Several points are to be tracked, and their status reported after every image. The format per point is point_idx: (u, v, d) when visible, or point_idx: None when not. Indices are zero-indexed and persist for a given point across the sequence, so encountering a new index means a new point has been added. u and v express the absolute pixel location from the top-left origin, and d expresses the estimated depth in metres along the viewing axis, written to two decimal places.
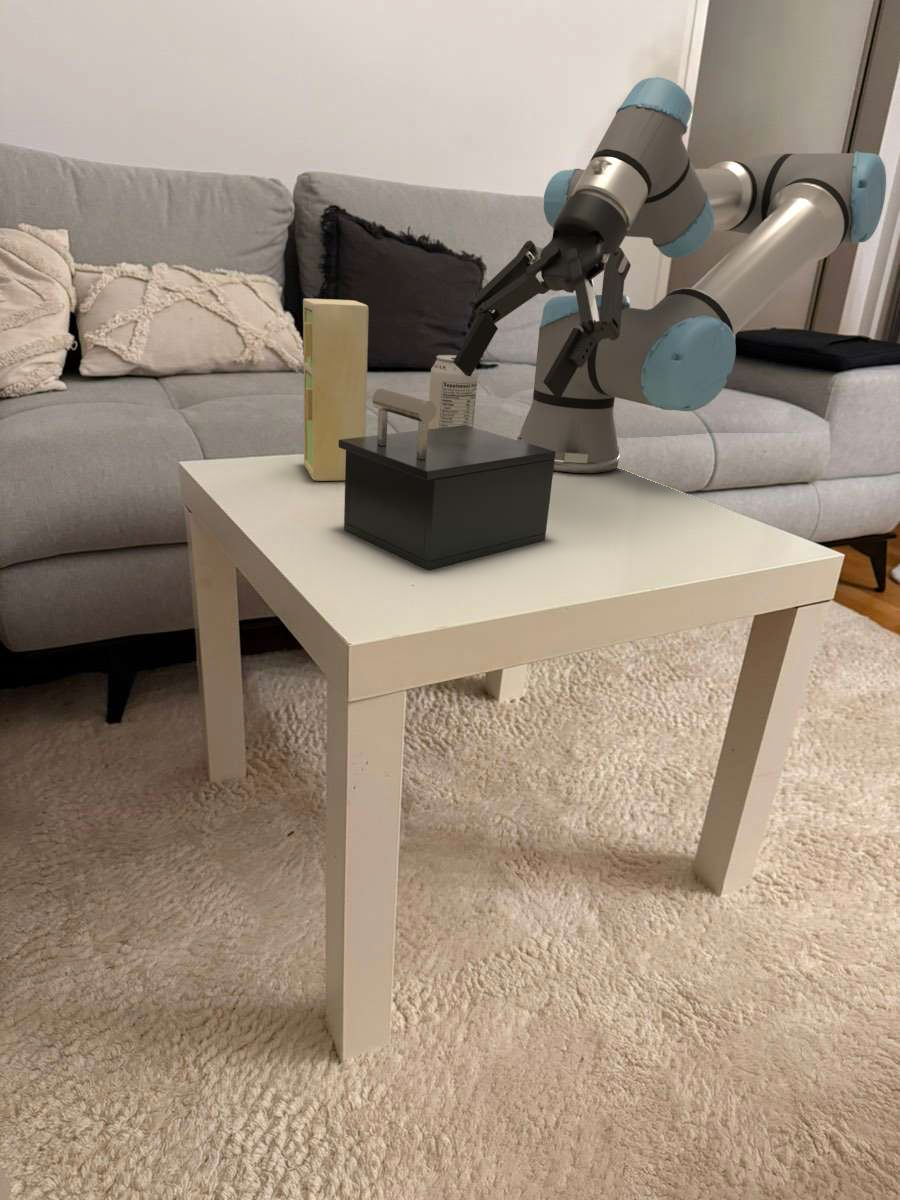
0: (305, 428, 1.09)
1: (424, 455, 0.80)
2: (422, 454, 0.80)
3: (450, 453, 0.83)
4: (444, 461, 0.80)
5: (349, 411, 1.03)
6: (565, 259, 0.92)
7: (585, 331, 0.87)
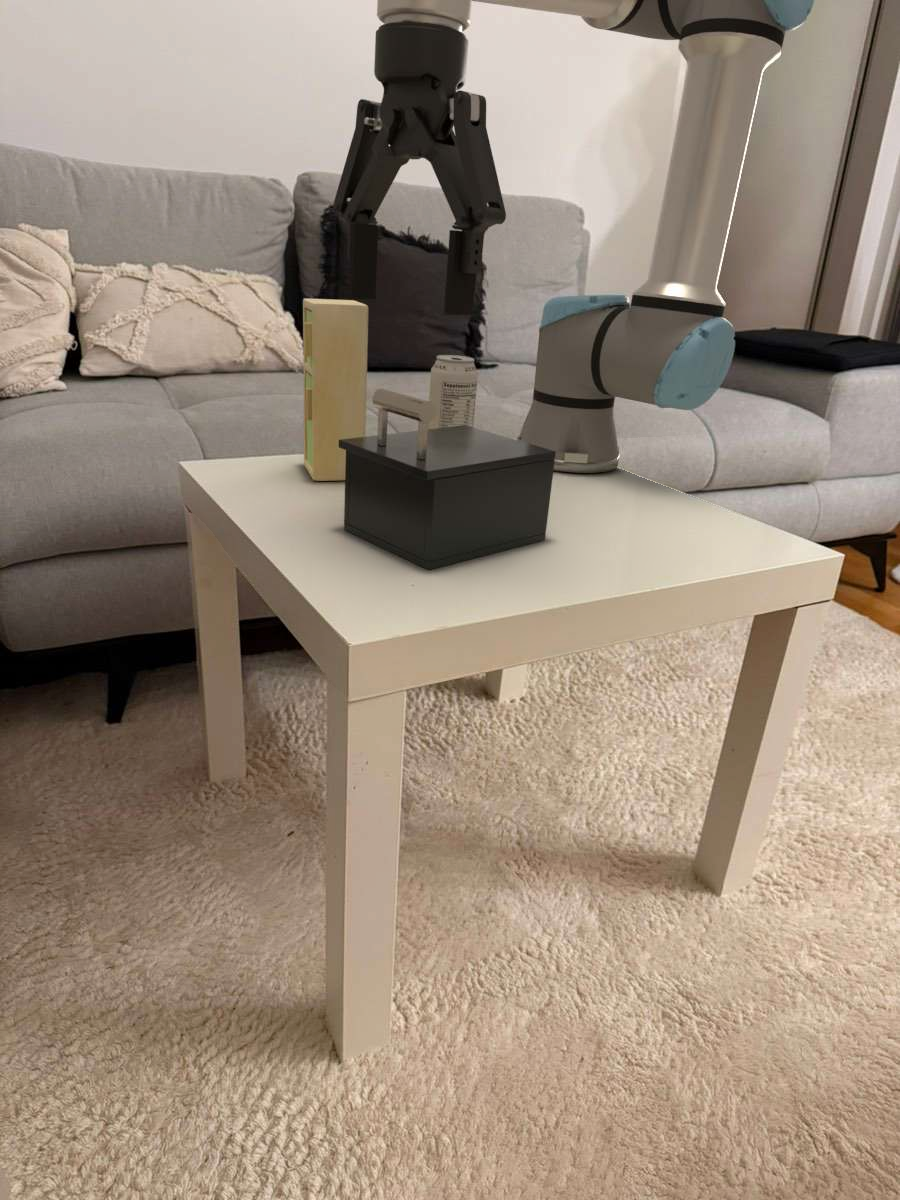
0: (305, 428, 1.09)
1: (424, 455, 0.80)
2: (422, 454, 0.80)
3: (450, 453, 0.83)
4: (444, 461, 0.80)
5: (349, 411, 1.03)
6: None
7: (464, 229, 0.69)
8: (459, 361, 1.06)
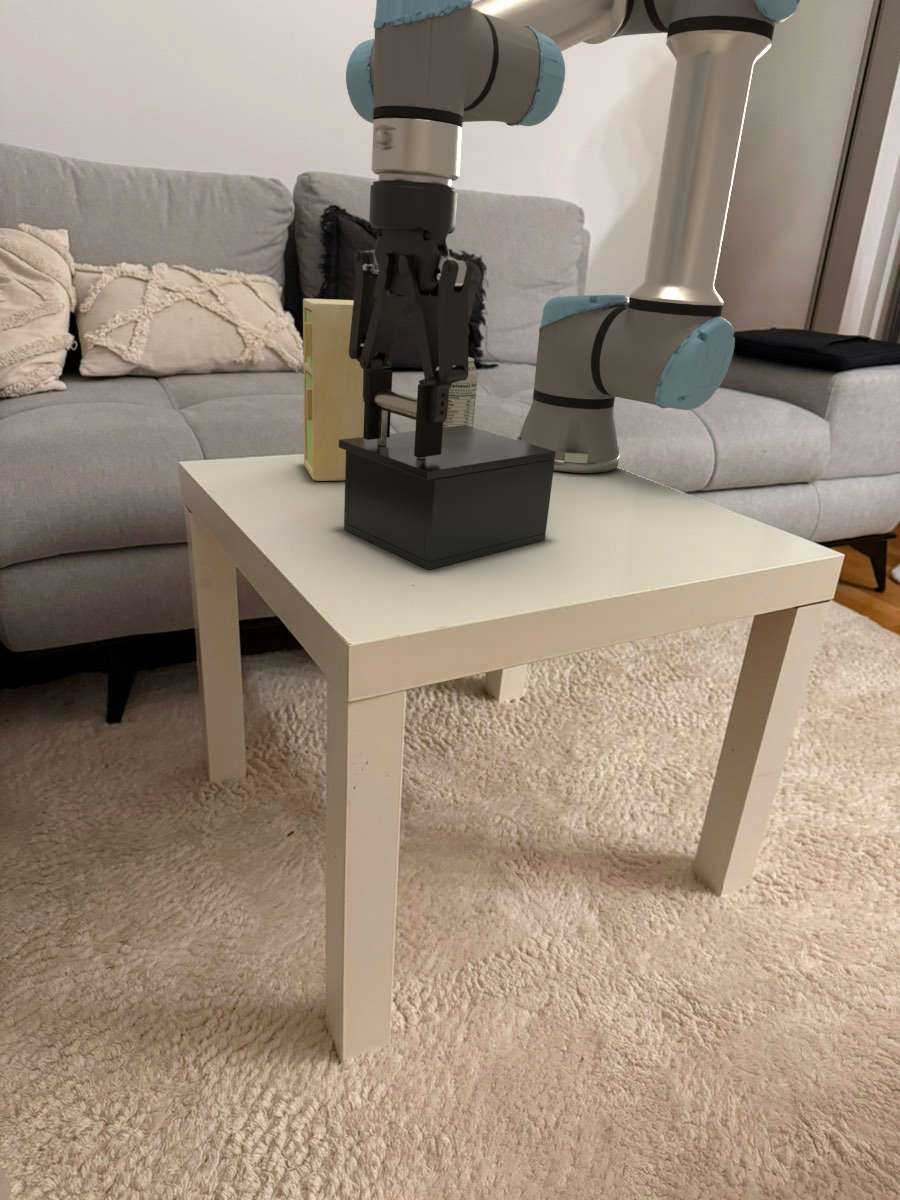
0: (305, 428, 1.09)
1: None
2: None
3: (450, 453, 0.83)
4: (444, 461, 0.80)
5: (349, 411, 1.03)
6: None
7: None
8: None
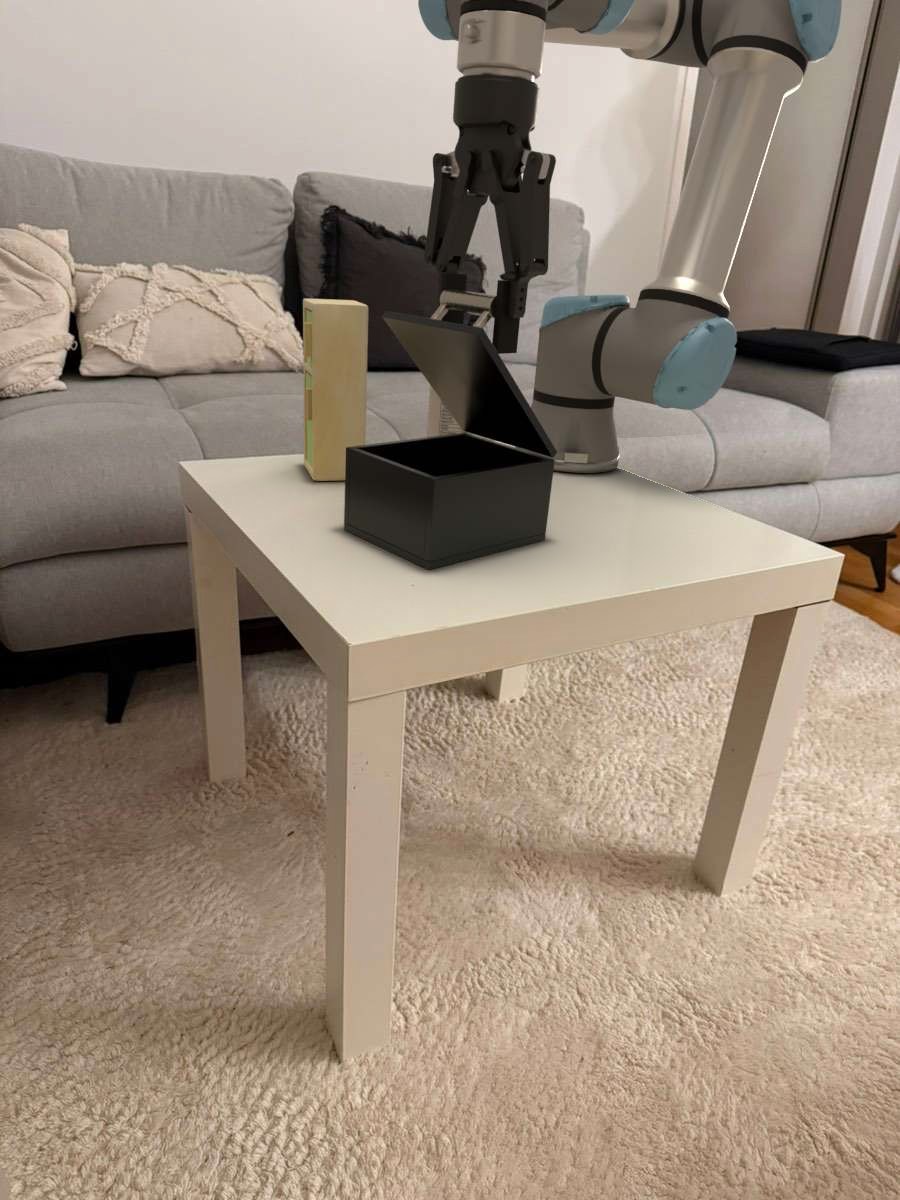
0: (305, 428, 1.09)
1: None
2: None
3: None
4: None
5: (349, 411, 1.03)
6: None
7: None
8: None
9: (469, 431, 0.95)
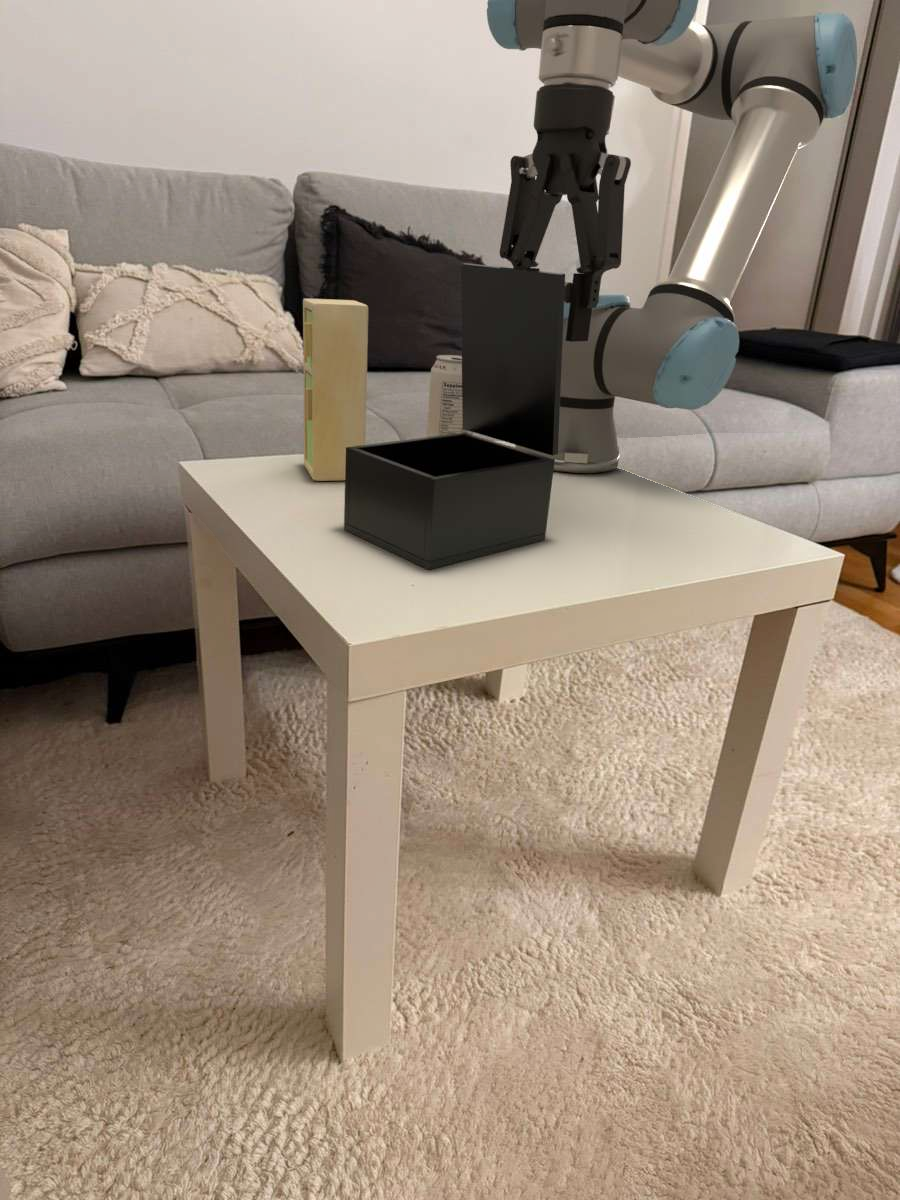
0: (305, 428, 1.09)
1: None
2: None
3: None
4: None
5: (349, 411, 1.03)
6: (561, 165, 0.83)
7: (584, 272, 0.84)
8: (459, 361, 1.06)
9: (470, 428, 0.95)
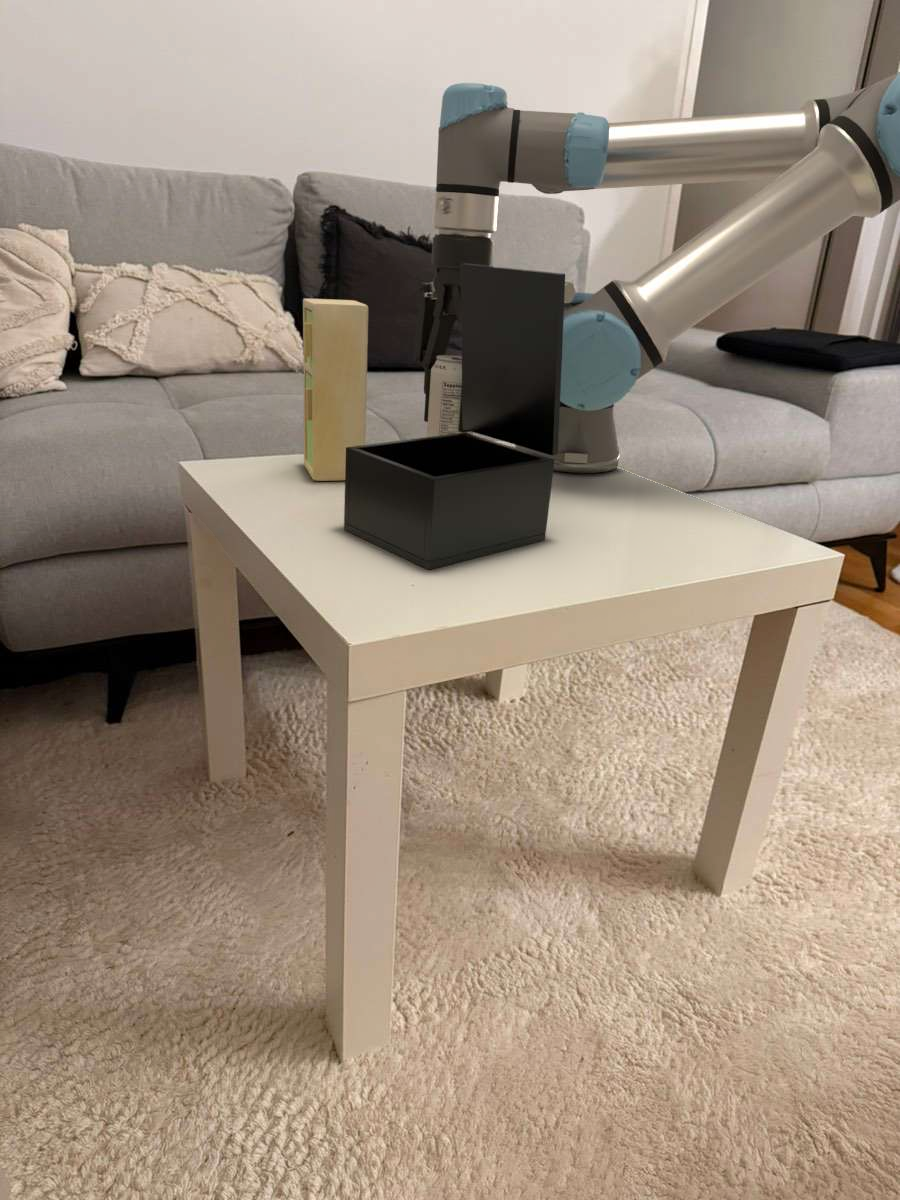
0: (305, 428, 1.09)
1: None
2: None
3: None
4: None
5: (349, 411, 1.03)
6: None
7: None
8: (459, 361, 1.06)
9: (470, 428, 0.95)
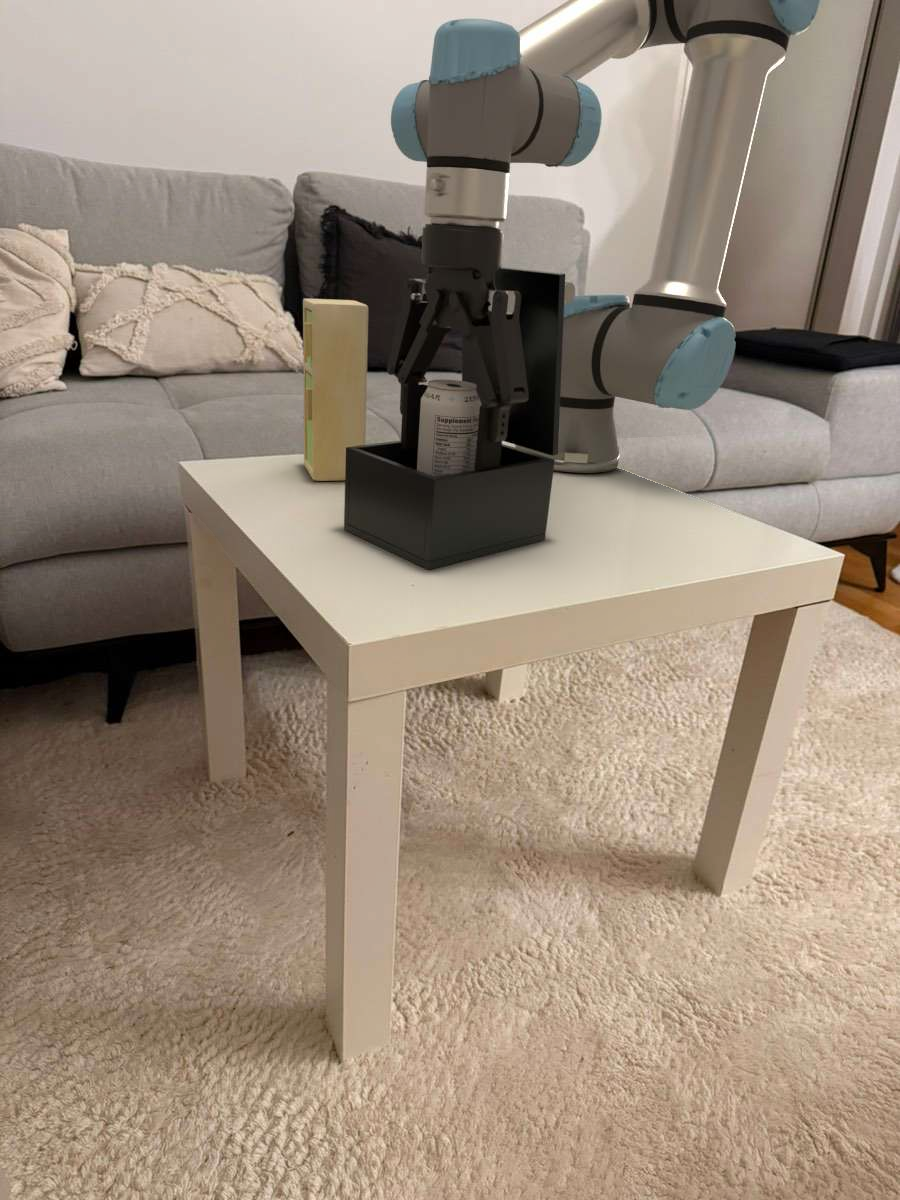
0: (305, 428, 1.09)
1: None
2: None
3: None
4: None
5: (349, 411, 1.03)
6: None
7: None
8: (457, 389, 0.81)
9: None
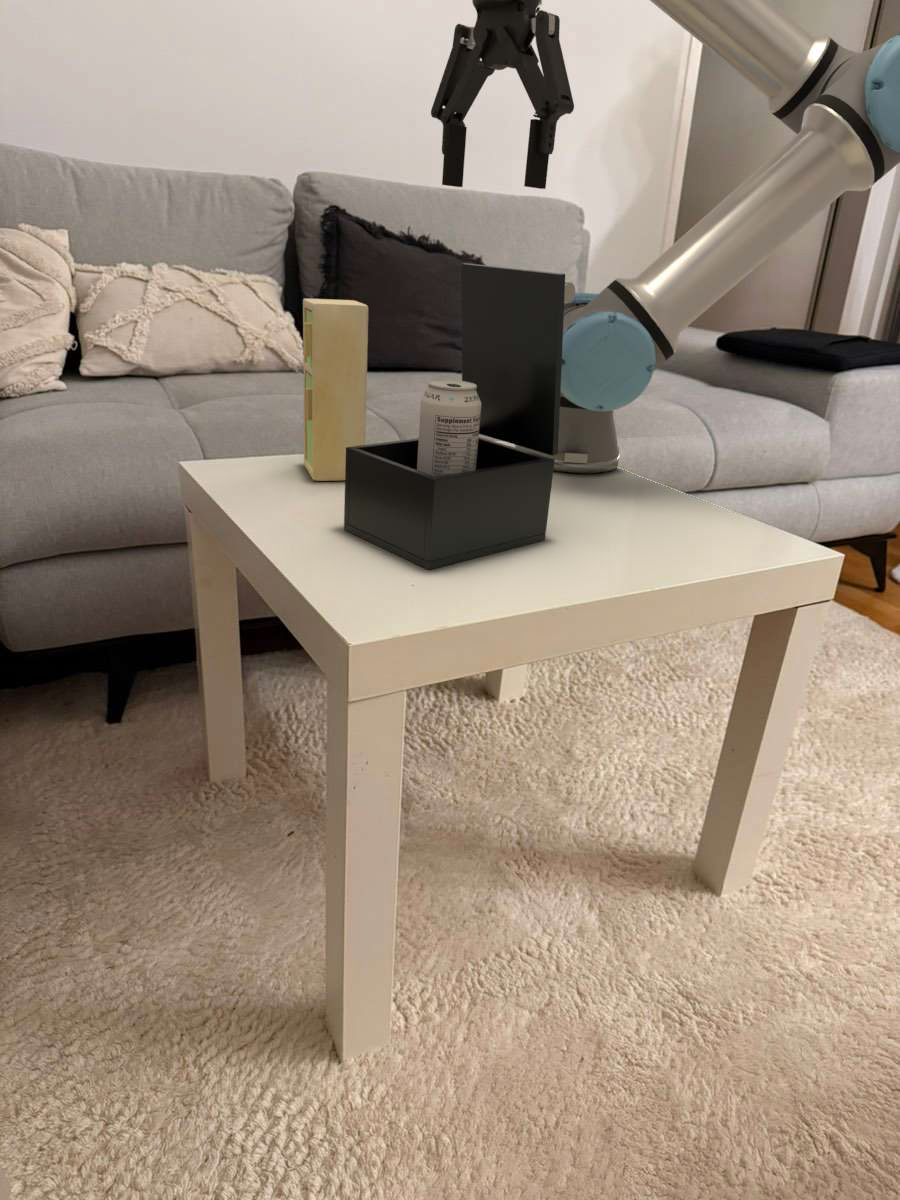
0: (305, 428, 1.09)
1: None
2: None
3: None
4: None
5: (349, 411, 1.03)
6: (497, 39, 0.92)
7: (542, 118, 0.91)
8: (457, 389, 0.81)
9: None
